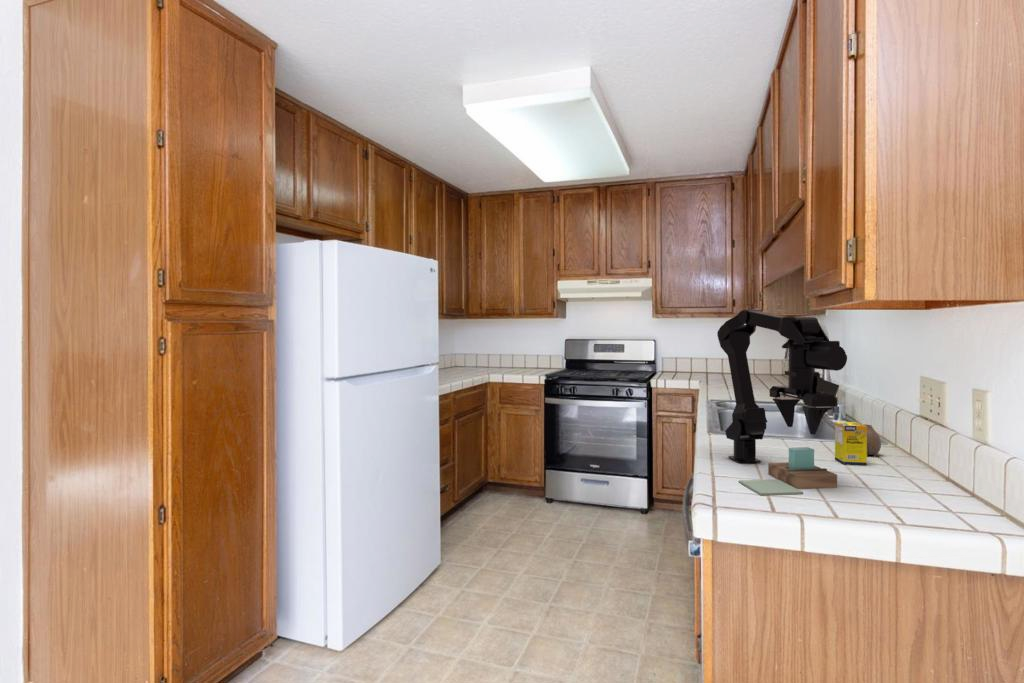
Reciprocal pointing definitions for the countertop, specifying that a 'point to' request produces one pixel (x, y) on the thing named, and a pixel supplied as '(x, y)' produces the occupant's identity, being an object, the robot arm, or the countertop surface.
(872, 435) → the vase
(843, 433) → the supplement box
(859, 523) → the countertop surface
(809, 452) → the tall teal box
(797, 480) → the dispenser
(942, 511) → the countertop surface
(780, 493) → the mat
